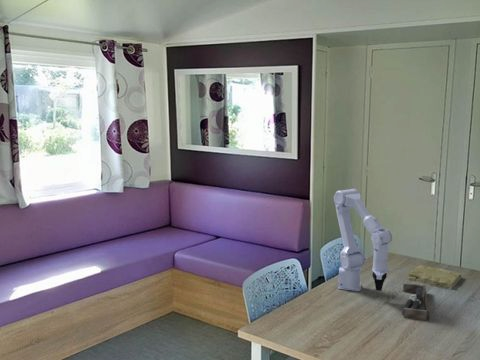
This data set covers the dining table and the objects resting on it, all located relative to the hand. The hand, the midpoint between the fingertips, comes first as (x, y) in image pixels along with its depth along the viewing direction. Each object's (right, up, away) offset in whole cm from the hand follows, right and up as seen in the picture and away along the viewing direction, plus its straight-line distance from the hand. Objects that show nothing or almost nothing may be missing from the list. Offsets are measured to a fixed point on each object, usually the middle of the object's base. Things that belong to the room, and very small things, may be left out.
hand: (378, 289), depth 205 cm
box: (+14, -5, -4) cm, 15 cm away
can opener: (+12, -6, -6) cm, 15 cm away
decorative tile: (+33, -1, +25) cm, 41 cm away
